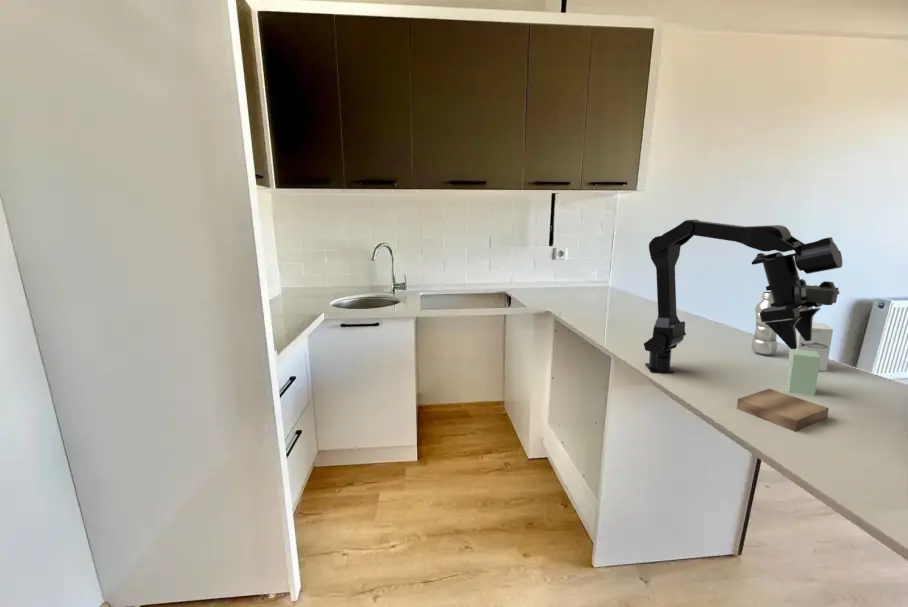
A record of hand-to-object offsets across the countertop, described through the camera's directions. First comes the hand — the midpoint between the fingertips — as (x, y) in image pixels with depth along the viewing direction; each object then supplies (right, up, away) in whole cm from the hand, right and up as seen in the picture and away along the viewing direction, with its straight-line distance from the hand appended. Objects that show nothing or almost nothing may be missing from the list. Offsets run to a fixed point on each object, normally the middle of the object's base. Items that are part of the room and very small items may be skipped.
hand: (801, 344), depth 93 cm
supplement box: (+24, -9, +27) cm, 37 cm away
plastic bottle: (+20, -7, +39) cm, 44 cm away
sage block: (+10, -13, +12) cm, 20 cm away
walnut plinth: (-5, -16, 0) cm, 16 cm away
